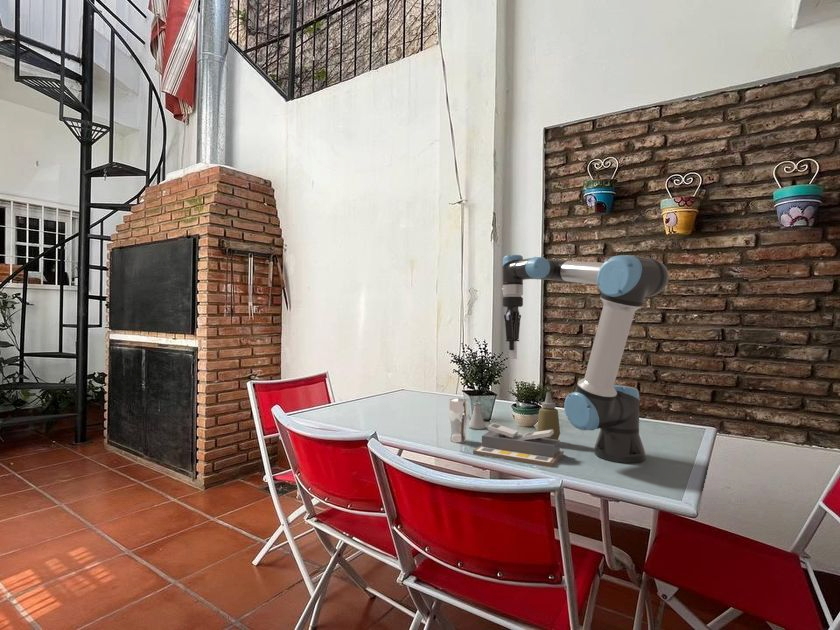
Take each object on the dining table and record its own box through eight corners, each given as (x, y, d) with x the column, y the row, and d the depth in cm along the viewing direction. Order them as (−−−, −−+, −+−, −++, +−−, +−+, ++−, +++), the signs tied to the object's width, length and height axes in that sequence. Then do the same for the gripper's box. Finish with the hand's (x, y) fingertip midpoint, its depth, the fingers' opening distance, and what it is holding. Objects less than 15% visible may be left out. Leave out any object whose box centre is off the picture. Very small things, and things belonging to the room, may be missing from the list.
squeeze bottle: (563, 442, 166) (563, 392, 166) (556, 447, 159) (556, 395, 159) (541, 438, 170) (541, 390, 170) (533, 443, 164) (533, 393, 164)
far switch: (517, 434, 156) (518, 430, 155) (512, 437, 151) (513, 434, 151) (492, 426, 160) (493, 422, 160) (487, 429, 156) (488, 425, 156)
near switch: (553, 433, 149) (552, 429, 150) (549, 436, 145) (548, 432, 145) (527, 436, 154) (526, 432, 154) (523, 440, 150) (522, 436, 150)
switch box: (563, 454, 150) (563, 437, 150) (552, 467, 138) (552, 448, 138) (488, 443, 163) (489, 427, 163) (473, 453, 151) (473, 436, 151)
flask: (472, 430, 183) (472, 405, 183) (465, 426, 190) (465, 402, 190) (489, 429, 185) (489, 404, 185) (481, 425, 192) (481, 401, 192)
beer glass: (452, 444, 163) (452, 401, 163) (446, 439, 170) (446, 398, 170) (471, 442, 165) (471, 401, 165) (464, 437, 172) (464, 397, 172)
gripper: (508, 297, 181) (508, 356, 181) (497, 295, 170) (497, 359, 170) (527, 296, 177) (527, 357, 177) (516, 295, 166) (516, 360, 166)
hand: (512, 358), depth 174 cm, fingers closed
